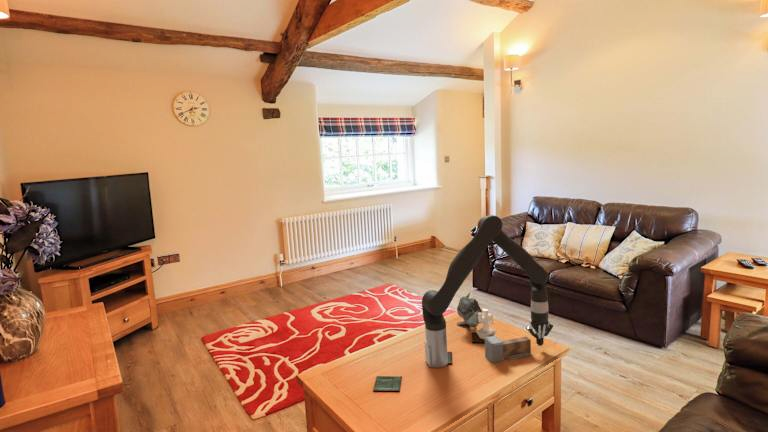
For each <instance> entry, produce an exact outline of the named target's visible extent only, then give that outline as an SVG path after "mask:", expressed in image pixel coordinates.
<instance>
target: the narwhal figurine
mask: <svg viewBox="0 0 768 432" xmlns="http://www.w3.org/2000/svg"><path fill="white" fill-rule="evenodd" d="M470 295H471V292H469V293H468V294H467V295H466V296H462V297H460V299H459V301H458V304H457V308H456V310H457V311H456V312H457V315H458V316H459V317H460V318H462V321H460V322H456V326H469V332H471V333H476V331H477V330H478V329H477V327H478V326H479V324H480V323H479V322H478V313H482V309H481V307H480V304H479V303H478V300H476V299H475V298H474V297H472V298H470Z"/></svg>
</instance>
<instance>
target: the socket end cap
mask: <svg viewBox="0 0 768 432" xmlns="http://www.w3.org/2000/svg"><path fill="white" fill-rule="evenodd" d="M502 341H503V340H501V339H500V338H499V337H498V336H497V335H494V336H491V337H485V340H484V355H485V357H486V359H488V360H489V361H490V362H491V364H494V363H495V364H496V363H499V362H504V360H505V359H503V342H502Z"/></svg>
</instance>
